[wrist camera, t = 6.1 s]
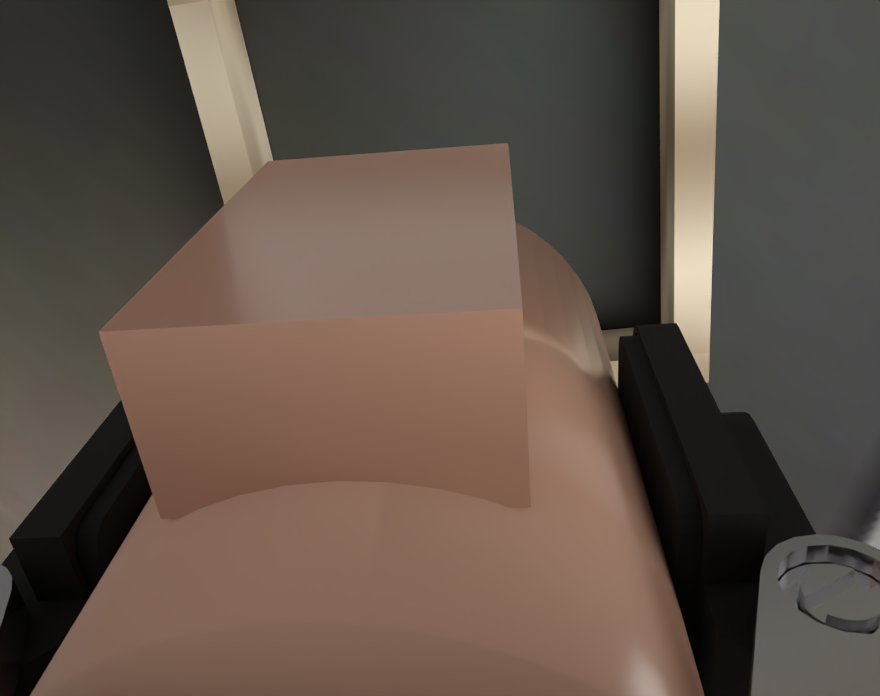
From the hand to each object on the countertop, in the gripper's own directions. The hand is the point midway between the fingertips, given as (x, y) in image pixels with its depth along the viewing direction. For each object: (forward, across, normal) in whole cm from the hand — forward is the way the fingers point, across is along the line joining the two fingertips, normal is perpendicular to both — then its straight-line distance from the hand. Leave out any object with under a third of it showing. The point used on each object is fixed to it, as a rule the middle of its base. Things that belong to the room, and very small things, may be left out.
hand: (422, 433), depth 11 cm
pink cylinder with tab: (+2, 0, 0) cm, 2 cm away
